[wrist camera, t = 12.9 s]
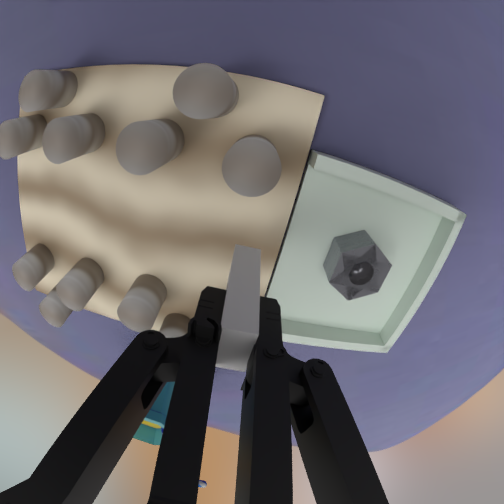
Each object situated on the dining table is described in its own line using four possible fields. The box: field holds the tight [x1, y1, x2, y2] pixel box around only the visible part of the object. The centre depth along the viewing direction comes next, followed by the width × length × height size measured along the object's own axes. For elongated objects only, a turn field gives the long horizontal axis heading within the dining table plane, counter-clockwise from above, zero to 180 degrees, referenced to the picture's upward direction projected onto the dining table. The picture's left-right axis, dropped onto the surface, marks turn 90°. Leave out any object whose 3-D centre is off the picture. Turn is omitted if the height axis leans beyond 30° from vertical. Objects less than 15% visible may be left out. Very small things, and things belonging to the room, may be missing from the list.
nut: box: [323, 230, 392, 301], centre depth 20 cm, size 4×5×3 cm
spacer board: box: [0, 63, 324, 338], centre depth 19 cm, size 24×26×5 cm
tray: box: [265, 149, 466, 353], centre depth 21 cm, size 16×14×2 cm
